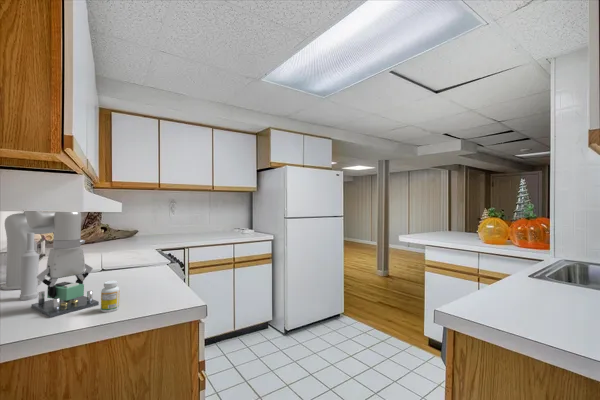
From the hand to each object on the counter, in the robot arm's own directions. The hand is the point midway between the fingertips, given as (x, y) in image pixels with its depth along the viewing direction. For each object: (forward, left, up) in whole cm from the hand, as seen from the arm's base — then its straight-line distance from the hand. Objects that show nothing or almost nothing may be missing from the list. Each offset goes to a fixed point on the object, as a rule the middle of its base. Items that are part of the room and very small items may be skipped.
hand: (65, 293), depth 102 cm
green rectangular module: (0, 0, -1) cm, 1 cm away
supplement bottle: (+16, +7, -5) cm, 18 cm away
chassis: (0, 0, -4) cm, 4 cm away
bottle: (-21, -4, -5) cm, 22 cm away
